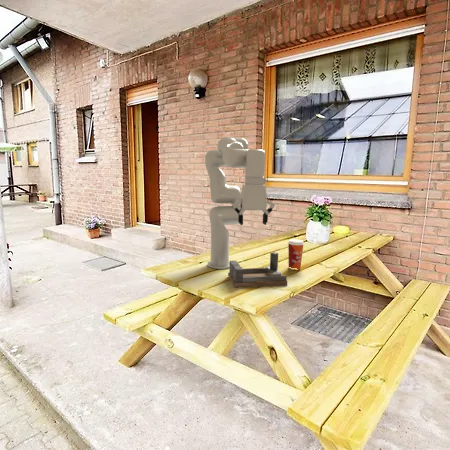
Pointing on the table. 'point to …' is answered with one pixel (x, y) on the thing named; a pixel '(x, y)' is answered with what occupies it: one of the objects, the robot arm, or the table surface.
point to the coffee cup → (295, 253)
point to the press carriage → (273, 265)
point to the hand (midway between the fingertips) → (252, 224)
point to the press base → (253, 277)
